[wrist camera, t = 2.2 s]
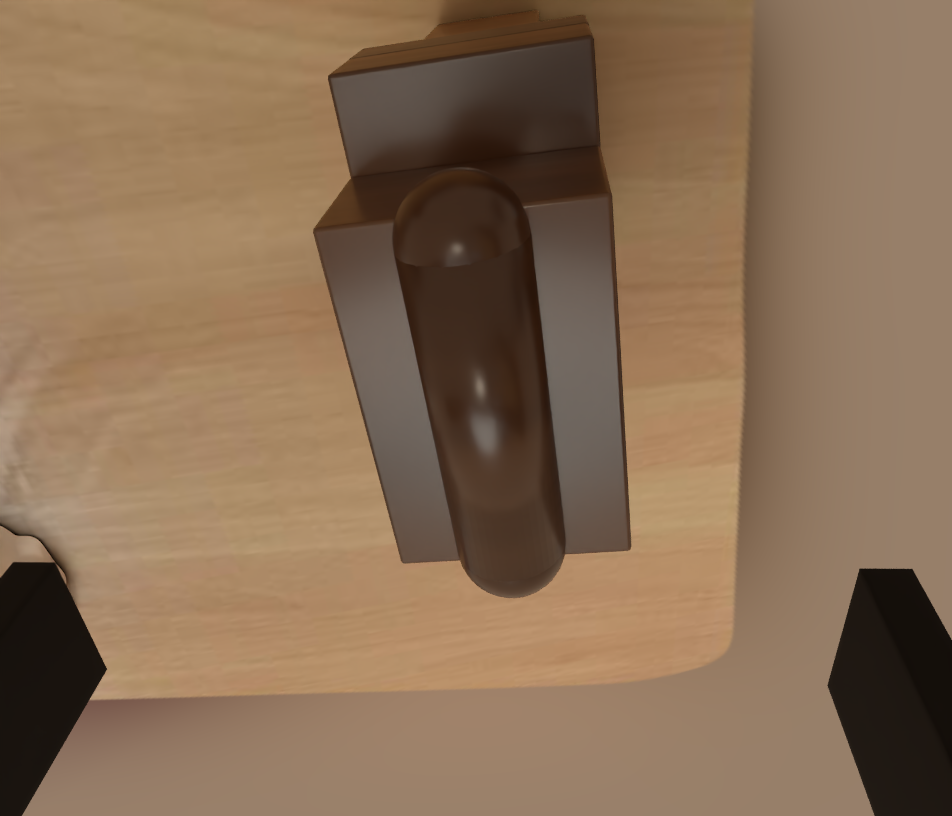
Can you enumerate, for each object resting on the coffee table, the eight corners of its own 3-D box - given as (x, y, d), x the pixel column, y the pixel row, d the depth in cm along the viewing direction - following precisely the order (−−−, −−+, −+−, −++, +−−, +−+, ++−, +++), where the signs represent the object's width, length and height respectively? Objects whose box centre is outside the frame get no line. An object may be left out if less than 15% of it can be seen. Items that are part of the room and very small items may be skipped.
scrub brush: (361, 48, 18) (254, 127, 11) (585, 14, 17) (610, 76, 11) (446, 460, 24) (410, 666, 18) (613, 448, 24) (640, 657, 17)
